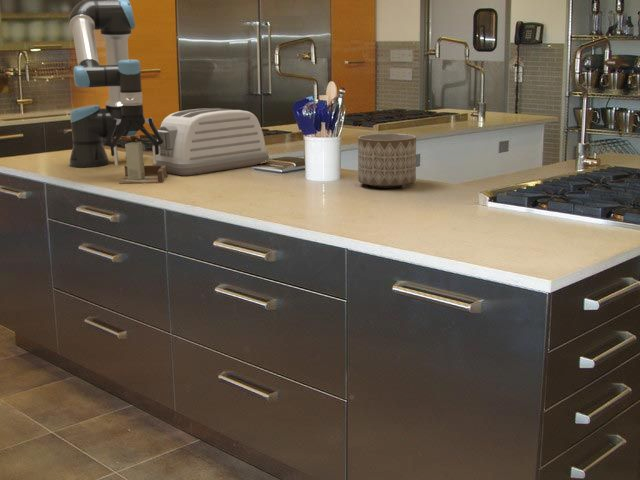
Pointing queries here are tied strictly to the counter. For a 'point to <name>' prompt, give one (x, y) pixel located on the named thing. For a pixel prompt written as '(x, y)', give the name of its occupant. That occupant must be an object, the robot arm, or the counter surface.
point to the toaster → (210, 141)
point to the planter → (387, 159)
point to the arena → (148, 175)
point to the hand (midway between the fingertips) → (135, 164)
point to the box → (135, 160)
